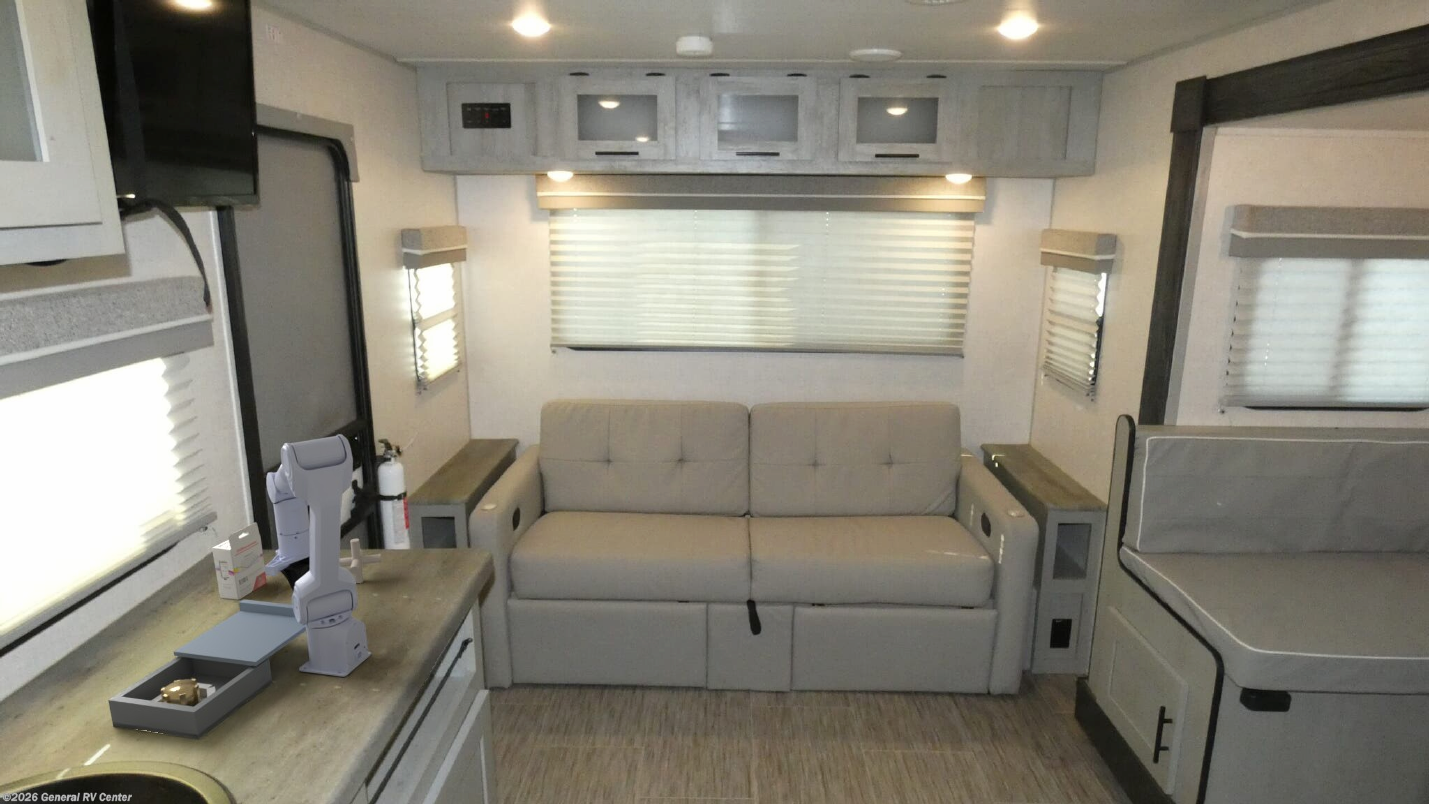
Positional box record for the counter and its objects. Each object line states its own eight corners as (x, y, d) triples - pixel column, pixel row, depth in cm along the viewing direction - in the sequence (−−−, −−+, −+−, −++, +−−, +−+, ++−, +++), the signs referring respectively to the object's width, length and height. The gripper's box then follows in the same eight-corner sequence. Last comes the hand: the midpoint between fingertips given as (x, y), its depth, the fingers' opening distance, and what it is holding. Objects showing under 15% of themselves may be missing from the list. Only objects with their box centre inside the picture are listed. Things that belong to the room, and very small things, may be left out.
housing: (272, 683, 142) (269, 658, 141) (198, 739, 126) (194, 712, 125) (194, 672, 145) (190, 648, 144) (113, 726, 129) (108, 700, 128)
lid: (320, 620, 153) (318, 607, 152) (256, 666, 137) (254, 652, 137) (245, 611, 156) (243, 599, 156) (174, 655, 141) (172, 642, 140)
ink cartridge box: (248, 581, 181) (239, 519, 178) (267, 583, 180) (259, 521, 177) (218, 598, 173) (208, 534, 170) (238, 600, 172) (229, 536, 169)
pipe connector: (337, 575, 184) (333, 534, 182) (384, 570, 187) (380, 529, 185) (331, 594, 175) (326, 551, 172) (380, 588, 178) (376, 546, 175)
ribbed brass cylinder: (203, 710, 133) (200, 688, 132) (167, 722, 129) (163, 699, 128) (197, 695, 136) (194, 674, 136) (162, 707, 133) (158, 685, 132)
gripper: (301, 515, 164) (308, 576, 167) (247, 542, 150) (256, 609, 153) (331, 517, 163) (338, 580, 166) (280, 545, 149) (288, 613, 152)
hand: (301, 594), depth 160 cm, fingers closed
